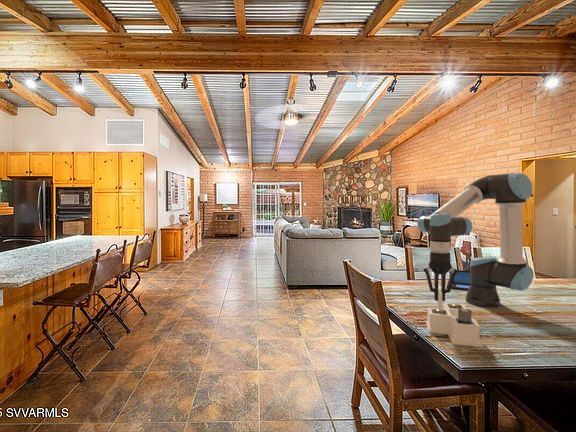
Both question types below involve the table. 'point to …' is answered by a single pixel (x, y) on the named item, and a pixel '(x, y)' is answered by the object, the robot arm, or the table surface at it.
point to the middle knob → (438, 311)
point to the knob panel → (454, 326)
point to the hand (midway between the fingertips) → (439, 308)
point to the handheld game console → (461, 280)
